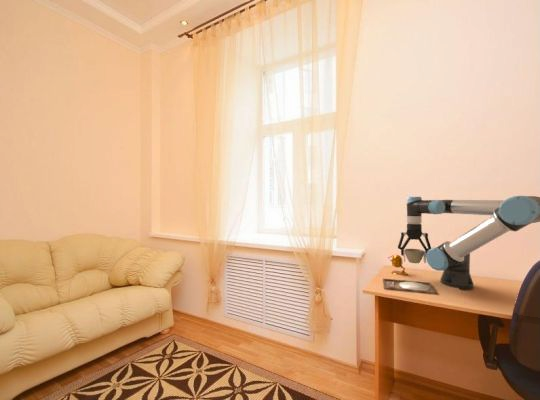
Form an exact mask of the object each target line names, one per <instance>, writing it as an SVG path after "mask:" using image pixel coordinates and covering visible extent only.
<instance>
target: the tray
mask: <svg viewBox="0 0 540 400" xmlns="http://www.w3.org/2000/svg"><path fill="white" fill-rule="evenodd" d="M393 281H394V282H395V283H394V288H393V287H390V285H392V282H393ZM402 282H416V283H421V284H424V285H426V286H428V287H429V291H423V290H413V289H403V288H401V287H400V286H399V284H400V283H402ZM382 284H383V289H384V290H389V291H392V290H393V291H399V292H409V293H410V292H411V293H419V294H420V293H421V294H429V295H438V291H436V289H435V288H434V287H433V285H432V283H431V282H430V281H429V282H428V281H415V280H406V279H405V280H404V279H394V278H393V279H392V278H382Z"/></svg>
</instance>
